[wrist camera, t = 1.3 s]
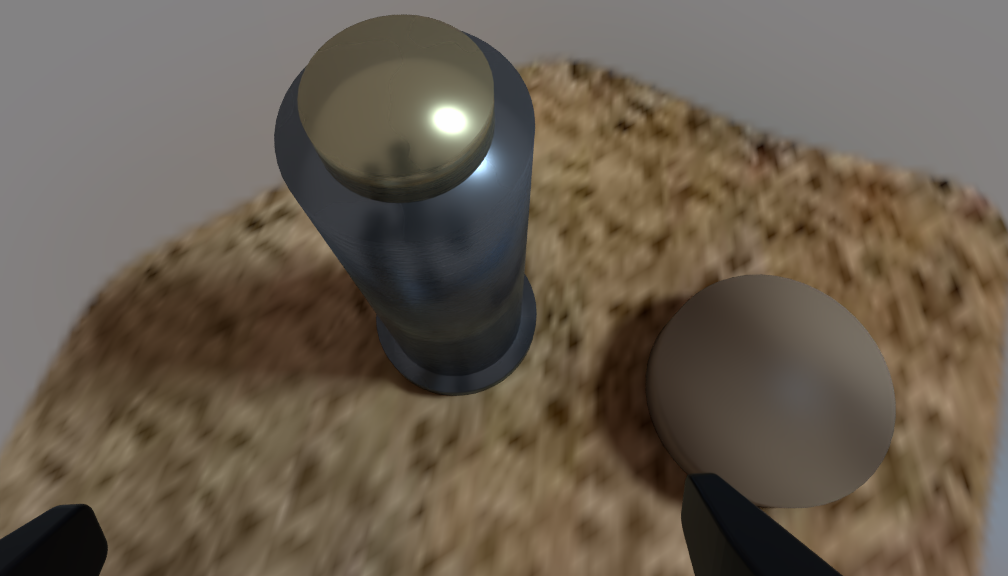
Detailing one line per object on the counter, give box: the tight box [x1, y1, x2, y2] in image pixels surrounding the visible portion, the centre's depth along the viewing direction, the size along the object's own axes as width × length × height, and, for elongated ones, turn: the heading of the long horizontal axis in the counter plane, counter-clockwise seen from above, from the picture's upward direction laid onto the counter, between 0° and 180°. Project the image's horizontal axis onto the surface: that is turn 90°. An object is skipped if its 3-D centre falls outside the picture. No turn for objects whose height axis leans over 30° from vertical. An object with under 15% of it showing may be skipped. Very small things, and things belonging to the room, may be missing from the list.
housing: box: [274, 15, 536, 396], centre depth 17 cm, size 6×6×14 cm
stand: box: [646, 275, 896, 508], centre depth 22 cm, size 8×8×2 cm
